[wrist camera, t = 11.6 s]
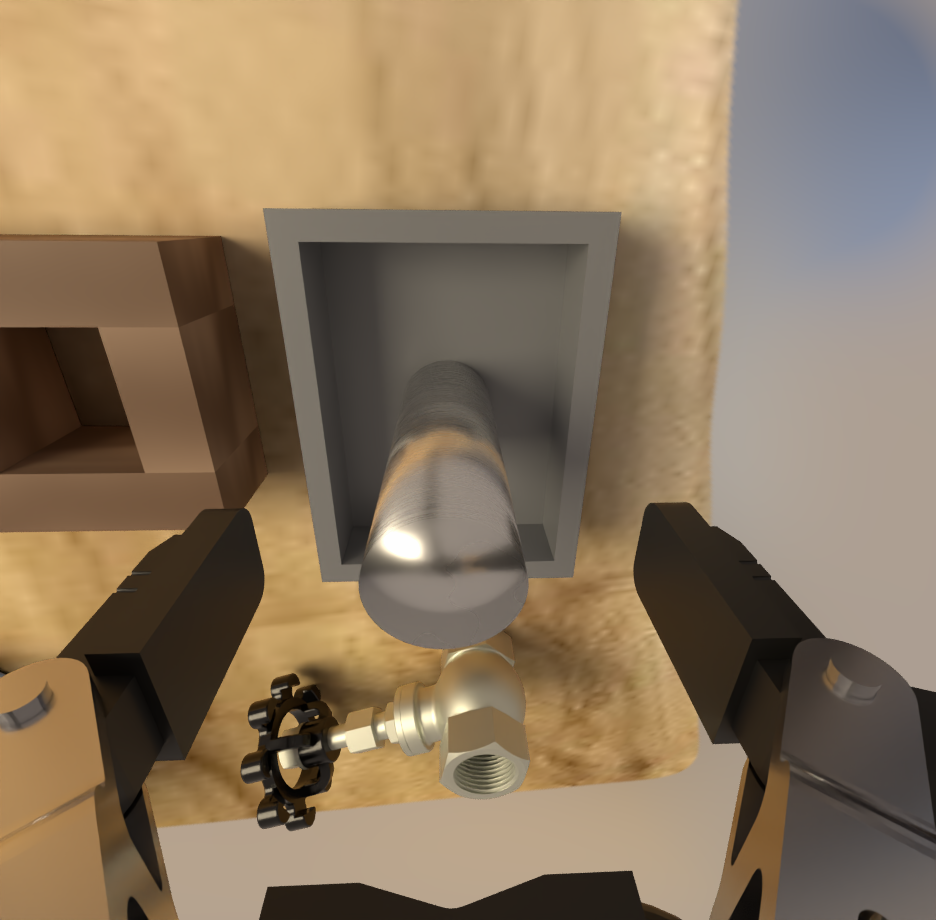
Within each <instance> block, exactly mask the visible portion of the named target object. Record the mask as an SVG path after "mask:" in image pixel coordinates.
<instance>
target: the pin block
mask: <svg viewBox="0 0 936 920" xmlns="http://www.w3.org/2000/svg"><path fill="white" fill-rule="evenodd" d="M45 327H98V329H99V333H100V336H101V339H102V342H103V345H104V348H105V351H106V354H107V357H108V360H109V363H110V366H111V370H112V373H113V376H114V379H115V382H116V385H117V388H118V391H119V394H120V397H121V400H122V403H123V407H124V410H125V413H126V416H127V419H128V422H129V425H130V426H81V424H80V421H79V418H78V416H77V413H76V410H75V408H74V405H73V402H72V400H71V397H70V394H69V392H68V389H67V386H66V384H65V381H64V378H63V375H62V373H61V370H60V367H59V365H58V362H57V359H56V357H55V354H54V351H53V349H52V346H51V343H50V341H49V338H48V335H47V332H46V330H45ZM267 474H268V473H267V468H266V463H265V458H264V453H263V448H262V442H261V437H260V432H259V427H258V422H257V417H256V412H255V407H254V402H253V397H252V392H251V387H250V382H249V377H248V372H247V367H246V362H245V357H244V351H243V346H242V341H241V336H240V331H239V326H238V321H237V316H236V311H235V306H234V301H233V296H232V291H231V286H230V281H229V276H228V271H227V266H226V260H225V255H224V250H223V245H222V240H221V236H127V235H3V234H0V532H59V531H130V530H186V529H187V528H188V527H189V525H190V524H191V523H192V522H193V521H194V519H195V518H196V517H197V516H198V514H199V513H200V512H201V511H202V510H204V509H231V508H244V507H245V506H246V504H247V503H248V502H249V500H250V499H251V497H252V496H253V494H254V493H255V492H256V490H257V489H258V487H259V486H260V484H261V483H262V482H263V480H264V479H265V477H266V476H267Z"/></svg>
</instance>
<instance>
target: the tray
mask: <svg viewBox="0 0 936 920" xmlns="http://www.w3.org/2000/svg"><path fill="white" fill-rule="evenodd" d="M263 212H264V218H265V224H266V230H267V237H268V243H269V249H270V256H271V262H272V268H273V275H274V281H275V287H276V293H277V300H278V306H279V312H280V319H281V325H282V331H283V337H284V344H285V350H286V356H287V363H288V369H289V375H290V381H291V388H292V394H293V400H294V407H295V413H296V419H297V426H298V432H299V438H300V444H301V451H302V457H303V463H304V470H305V476H306V482H307V488H308V495H309V501H310V507H311V514H312V520H313V526H314V532H315V539H316V545H317V551H318V558H319V564H320V570H321V576H322V582H345V581H359V575H360V570H361V566H362V562H363V558H364V554H365V550H366V546H367V542H368V538H369V534H370V530H371V526H372V522H373V518H374V514H375V510H376V506H377V502H378V497H379V493H380V489H381V485H382V481H383V477H384V473H385V469H386V465H387V461H388V457H389V453H390V449H391V445H392V441H393V437H394V433H395V429H396V425H397V421H398V417H399V413H400V409H401V405H402V401H403V397H404V393H405V389H406V386H407V384H408V382H409V381H410V379H411V377H412V376H413V375H414V374H415V373H416V372H417V371H418V370H419V369H421V368H422V367H424V366H426V365H428V364H430V363H433V362H437V361H445V360H447V361H456V362H460V363H463V364H465V365H467V366H469V367H471V368H472V369H474V370H475V371H476V372H477V373H478V374H479V375H480V376H481V377H482V379H483V380H484V382H485V384H486V386H487V388H488V391H489V396H490V400H491V405H492V410H493V414H494V419H495V424H496V428H497V433H498V438H499V442H500V447H501V452H502V456H503V461H504V466H505V470H506V475H507V480H508V484H509V489H510V494H511V498H512V503H513V508H514V513H515V517H516V522H517V527H518V531H519V536H520V541H521V545H522V550H523V555H524V559H525V564H526V569H527V574H528V578H564V577H573V574H574V566H575V559H576V551H577V544H578V536H579V529H580V521H581V513H582V506H583V498H584V491H585V483H586V476H587V468H588V461H589V453H590V446H591V438H592V431H593V423H594V416H595V408H596V401H597V393H598V386H599V378H600V370H601V363H602V355H603V348H604V340H605V333H606V325H607V318H608V310H609V303H610V295H611V288H612V280H613V273H614V265H615V258H616V250H617V242H618V235H619V227H620V220H621V212H567V211H469V210H371V209H272V208H263Z"/></svg>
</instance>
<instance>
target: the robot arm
mask: <svg viewBox="0 0 936 920" xmlns="http://www.w3.org/2000/svg"><path fill="white" fill-rule="evenodd" d="M634 582H635V587H636V590H637V593H638V595H639V597H640V599H641V601H642V603H643V605H644V607H645V609H646V611H647V613H648V615H649V617H650V619H651V621H652V623H653V625H654V627H655V629H656V631H657V633H658V635H659V637H660V639H661V641H662V643H663V645H664V647H665V649H666V651H667V653H668V655H669V657H670V659H671V661H672V663H673V665H674V667H675V669H676V671H677V673H678V675H679V677H680V679H681V681H682V683H683V685H684V687H685V689H686V691H687V693H688V695H689V697H690V699H691V701H692V704H693V706H694V708H695V710H696V712H697V714H698V716H699V718H700V720H701V722H702V724H703V726H704V728H705V730H706V731H707V733H708V735H709V738H710V739H711V742H712V743H713V744H729V743H740V744H741V746H742V747H743V749H744V751H745V753H746V755H747V756H748V757H747V760H746V762H745V765H744V767H743V771H742V776H741V781H740V786H739V791H738V796H737V802H736V807H735V812H734V817H733V822H732V828H731V833H730V838H729V843H728V848H727V853H726V858H725V863H724V869H723V874H722V878H721V882H720V886H719V890H718V893H717V897H716V899H715V902H714V905H713V908H712V912H711V915H710V919H709V920H936V692H932V691H928V690H923V689H919V688H915V687H910V686H909V684H908V683H907V682H906V680H905V679H904V678H903V677H902V676H901V675H900V674H899V673H898V672H897V671H896V670H894V669H893V668H892V667H891V666H890V665H888V664H887V663H886V662H884V661H883V660H881V659H880V658H878V657H876V656H875V655H873V654H871V653H870V652H868V651H866V650H864V649H862V648H859V647H857V646H854V645H852V644H849V643H846V642H843V641H839V640H835V639H828V638H826V637H825V636H824V635H823V634H822V633H821V632H820V631H819V629H818V628H817V627H816V626H815V625H814V624H813V623H812V622H811V620H810V619H809V618H808V617H807V616H806V615H805V614H804V613H803V611H802V610H801V609H800V608H799V607H798V606H797V605H796V604H795V603H794V601H793V600H792V599H791V598H790V597H789V596H788V595H787V594H786V592H785V591H784V590H783V589H782V588H781V587H780V586H779V585H778V583H777V582H776V581H775V580H771V576H770V574H769V573H768V572H767V571H766V570H765V569H764V568H763V567H762V565H761V564H757V560H756V559H755V558H754V556H753V555H752V554H751V553H750V552H749V551H748V550H747V549H746V547H745V546H744V545H743V544H742V543H741V542H740V541H738V540H737V539H735V538H734V537H732V536H731V535H729V534H728V533H726V532H724V531H723V530H721V529H720V528H718V527H716V526H712V527H710V526H709V525H708V524H707V522H706V521H705V520H704V519H703V518H702V516H701V515H700V514H699V513H698V512H697V510H696V509H695V508H694V507H693V506H692V505H691V504H690V503H687V502H680V503H650V504H648V506H647V507H646V509H645V512H644V516H643V521H642V526H641V531H640V536H639V541H638V546H637V551H636V556H635V561H634ZM263 590H264V569H263V564H262V560H261V556H260V551H259V547H258V543H257V539H256V534H255V530H254V526H253V522H252V518H251V515H250V513H249V511H248V510H247V509H245V508H231V509H204V510H202V511H201V512H200V513H199V514H198V516H197V517H196V518H195V519H194V521H193V522H192V523H191V524H190V525H189V527H188V528H187V529H186V530H185V532H184V533H183V534H182V535H174V536H172V537H171V538H169V539H168V540H166V541H165V542H163V543H162V544H160V545H159V546H157V547H156V548H154V549H153V550H151V551H149V552H148V554H147V555H146V556H145V557H144V558H143V559H142V560H141V562H140V563H139V564H138V565H137V566H136V567H135V568H134V570H133V571H132V575H131V576H127V578H126V579H125V580H124V581H123V582H122V583H121V584H120V586H119V587H118V588H117V592H116V593H113V594H112V595H111V596H110V597H109V598H108V599H107V600H106V602H105V603H104V604H103V605H102V606H101V607H100V608H99V610H98V611H97V612H96V613H95V614H94V615H93V616H92V618H91V619H90V620H89V621H88V622H87V623H86V624H85V626H84V627H83V628H82V629H81V630H80V631H79V632H78V634H77V635H76V636H75V637H74V638H73V639H72V640H71V642H70V643H69V644H68V645H67V646H66V647H65V648H64V650H63V651H62V652H61V653H60V654H59V655H58V656H57V658H53V659H47V660H43V661H39V662H35V663H32V664H29V665H27V666H24V667H21V668H19V669H17V670H15V671H12V672H10V673H8V674H7V675H5V676H3V677H1V678H0V920H179V919H178V916H177V913H176V910H175V906H174V903H173V899H172V895H171V891H170V886H169V881H168V877H167V873H166V868H165V864H164V859H163V855H162V850H161V846H160V842H159V837H158V833H157V828H156V824H155V819H154V815H153V811H152V806H151V802H150V797H149V793H148V790H147V787H146V785H145V783H144V781H145V779H146V777H147V775H148V773H149V772H150V770H151V768H152V766H153V764H154V762H155V761H168V760H185V758H186V756H187V754H188V752H189V750H190V748H191V746H192V744H193V742H194V740H195V737H196V735H197V733H198V731H199V729H200V727H201V725H202V723H203V721H204V719H205V717H206V714H207V712H208V710H209V708H210V706H211V704H212V702H213V700H214V698H215V696H216V693H217V691H218V689H219V687H220V685H221V683H222V681H223V679H224V677H225V675H226V673H227V670H228V668H229V666H230V664H231V662H232V660H233V658H234V656H235V654H236V652H237V650H238V647H239V645H240V643H241V641H242V639H243V637H244V635H245V633H246V631H247V629H248V627H249V624H250V622H251V620H252V618H253V616H254V614H255V612H256V610H257V608H258V606H259V603H260V601H261V598H262V595H263ZM259 920H681V919H680V918H678V917H676V916H674V915H672V914H670V913H668V912H665V911H663V910H661V909H659V908H656V907H654V906H652V905H648V904H645V903H641V901H640V897H639V894H638V890H637V886H636V883H635V880H634V876H633V872H632V871H617V872H593V873H571V874H550V875H549V874H548V875H542V876H540V877H537V878H535V879H532V880H529V881H527V882H524V883H522V884H519V885H517V886H514V887H512V888H509V889H506V890H504V891H501V892H499V893H496V894H494V895H491V896H489V897H486V898H483V899H481V900H478V901H476V902H473V903H471V904H468V905H465V906H463V907H459V908H452V909H449V908H443V907H439V906H436V905H433V904H428V903H426V902H422V901H419V900H416V899H412V898H409V897H405V896H402V895H399V894H395V893H392V892H388V891H385V890H381V889H378V888H375V887H371V886H368V885H365V884H361V883H346V884H322V885H301V886H279V887H268V888H267V892H266V895H265V899H264V903H263V907H262V910H261V914H260V918H259Z"/></svg>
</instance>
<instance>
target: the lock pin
mask: <svg viewBox="0 0 936 920" xmlns="http://www.w3.org/2000/svg"><path fill="white" fill-rule="evenodd" d="M359 593H360V598H361V601H362V603H363V606H364V608H365V610H366V611H367V613H368V615H369V616H370V617H371V619H372V620H373V621H374V622H375V623H376V624H377V625H378V626H379V627H380V628H381V629H383V630H384V631H385V632H387V633H388V634H390V635H391V636H393V637H395V638H396V639H399V640H401V641H403V642H406V643H409V644H412V645H415V646H419V647H424V648H432V649H455V648H462V647H467V646H471V645H474V644H477V643H480V642H483V641H485V640H487V639H489V638H491V637H493V636H495V635H496V634H498V633H500V632H501V631H502V630H504V629H505V628H506V627H507V626H509V625H510V624H511V622H512V621H513V620H514V619H515V618H516V617H517V615H518V614H519V613H520V611H521V609H522V607H523V605H524V603H525V600H526V597H527V593H528V574H527V569H526V564H525V559H524V555H523V550H522V545H521V541H520V536H519V531H518V527H517V522H516V517H515V513H514V508H513V503H512V498H511V494H510V489H509V484H508V480H507V475H506V470H505V466H504V461H503V456H502V452H501V447H500V442H499V438H498V433H497V428H496V424H495V419H494V414H493V410H492V405H491V400H490V396H489V391H488V388H487V386H486V384H485V382H484V380H483V379H482V377H481V376H480V375H479V374H478V373H477V372H476V371H475V370H474V369H472V368H471V367H469V366H467V365H465V364H463V363H460V362H456V361H447V360H445V361H437V362H433V363H430V364H428V365H426V366H424V367H422V368H421V369H419V370H418V371H417V372H416V373H415V374H414V375H413V376H412V377H411V379H410V381H409V382H408V384H407V386H406V389H405V393H404V397H403V401H402V405H401V409H400V413H399V417H398V421H397V425H396V429H395V433H394V437H393V441H392V445H391V449H390V453H389V457H388V461H387V465H386V469H385V473H384V477H383V481H382V485H381V489H380V493H379V497H378V502H377V506H376V510H375V514H374V518H373V522H372V526H371V530H370V534H369V538H368V542H367V546H366V550H365V554H364V558H363V562H362V566H361V570H360V575H359Z"/></svg>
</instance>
